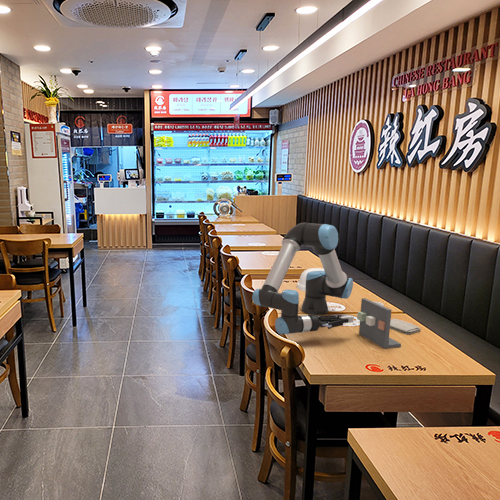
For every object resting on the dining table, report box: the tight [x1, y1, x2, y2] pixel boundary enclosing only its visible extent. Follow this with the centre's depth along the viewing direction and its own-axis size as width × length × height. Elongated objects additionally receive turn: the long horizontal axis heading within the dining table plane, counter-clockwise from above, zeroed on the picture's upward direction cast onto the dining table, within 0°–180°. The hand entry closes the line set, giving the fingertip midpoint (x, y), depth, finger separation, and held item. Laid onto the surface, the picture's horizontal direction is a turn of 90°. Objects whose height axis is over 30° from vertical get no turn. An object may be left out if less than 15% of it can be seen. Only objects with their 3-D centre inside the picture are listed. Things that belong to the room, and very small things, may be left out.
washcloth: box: [390, 318, 422, 336], centre depth 227 cm, size 12×18×3 cm, turn 35°
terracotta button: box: [378, 320, 385, 331], centre depth 199 cm, size 4×4×4 cm
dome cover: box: [296, 267, 324, 292], centre depth 306 cm, size 32×30×14 cm
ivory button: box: [366, 316, 376, 326], centre depth 205 cm, size 4×4×4 cm
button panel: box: [358, 298, 402, 350], centre depth 207 cm, size 20×9×18 cm, turn 20°
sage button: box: [356, 311, 367, 322], centre depth 211 cm, size 4×4×4 cm
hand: (352, 319), depth 208 cm, fingers closed
